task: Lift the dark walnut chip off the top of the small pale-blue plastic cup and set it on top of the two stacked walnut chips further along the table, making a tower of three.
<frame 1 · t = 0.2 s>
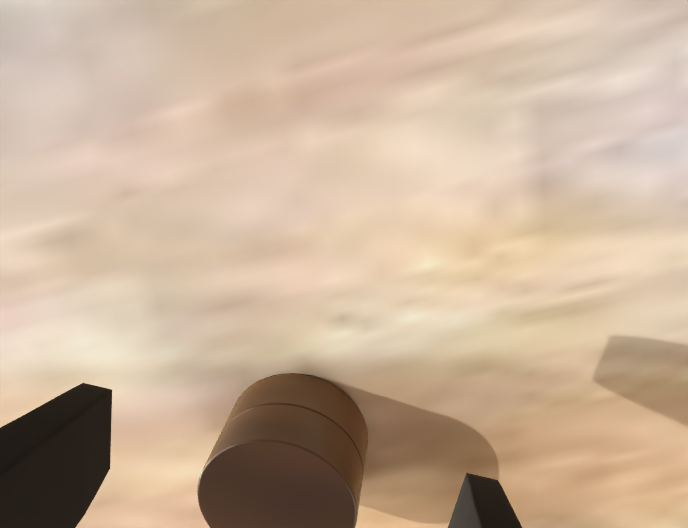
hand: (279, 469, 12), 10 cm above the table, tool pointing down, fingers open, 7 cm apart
base chip: (299, 431, 24), on the table, touching middle chip
middle chip: (288, 466, 22), point 2 cm above the table, touching base chip
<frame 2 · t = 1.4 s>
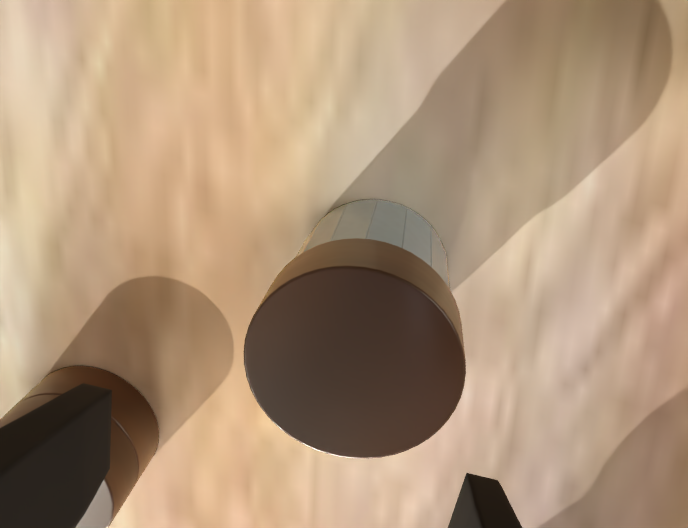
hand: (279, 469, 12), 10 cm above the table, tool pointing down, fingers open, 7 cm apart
cup: (373, 269, 21), on the table, touching top chip
base chip: (96, 422, 25), on the table, touching middle chip
top chip: (360, 331, 17), point 4 cm above the table, touching cup
middle chip: (70, 453, 23), point 2 cm above the table, touching base chip
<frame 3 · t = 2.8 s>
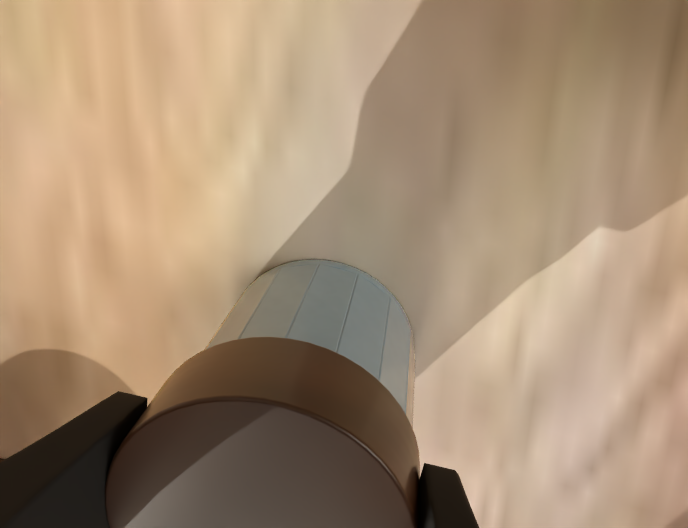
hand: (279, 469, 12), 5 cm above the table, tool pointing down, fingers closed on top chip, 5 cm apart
cup: (320, 344, 16), on the table, touching top chip
top chip: (282, 455, 12), point 4 cm above the table, touching cup, gripper
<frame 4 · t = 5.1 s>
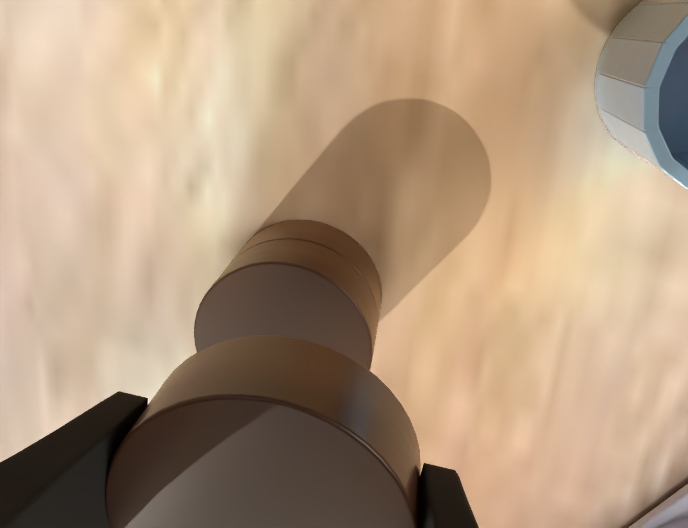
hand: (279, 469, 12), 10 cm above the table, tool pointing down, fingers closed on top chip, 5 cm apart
cup: (685, 74, 18), on the table
base chip: (306, 291, 22), on the table, touching middle chip
top chip: (282, 453, 12), point 10 cm above the table, touching gripper
middle chip: (294, 316, 20), point 2 cm above the table, touching base chip
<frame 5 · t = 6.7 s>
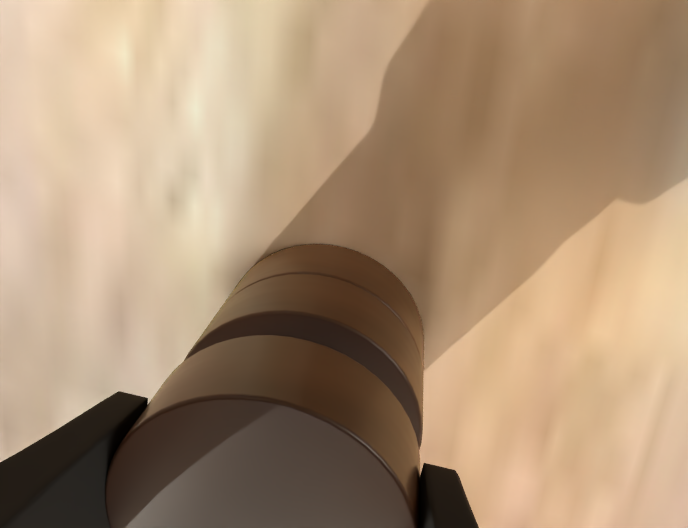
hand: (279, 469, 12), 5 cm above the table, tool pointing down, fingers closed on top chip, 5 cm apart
base chip: (323, 335, 17), on the table, touching middle chip
top chip: (282, 453, 12), point 5 cm above the table, touching gripper
middle chip: (310, 375, 15), point 2 cm above the table, touching base chip
when the fingers open (4 cm above the table, at t = 7.6 s): top chip stays where it is, resting on middle chip.
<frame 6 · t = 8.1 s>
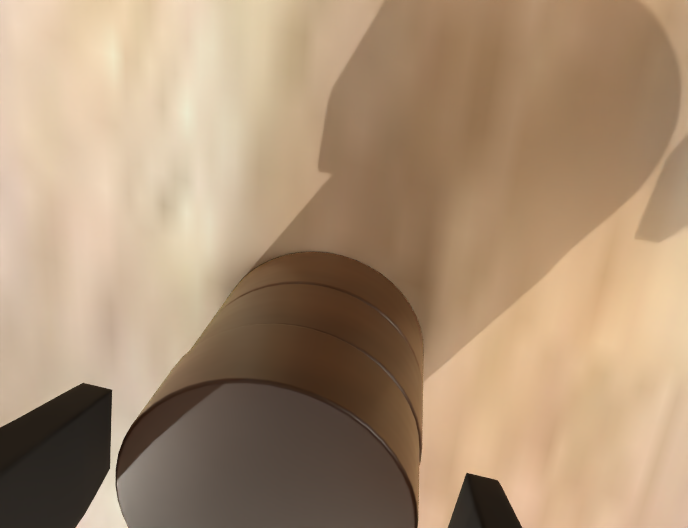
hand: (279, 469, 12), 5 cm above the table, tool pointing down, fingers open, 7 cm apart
base chip: (320, 346, 16), on the table, touching middle chip
top chip: (286, 439, 13), point 4 cm above the table, touching middle chip
middle chip: (306, 387, 14), point 2 cm above the table, touching base chip, top chip
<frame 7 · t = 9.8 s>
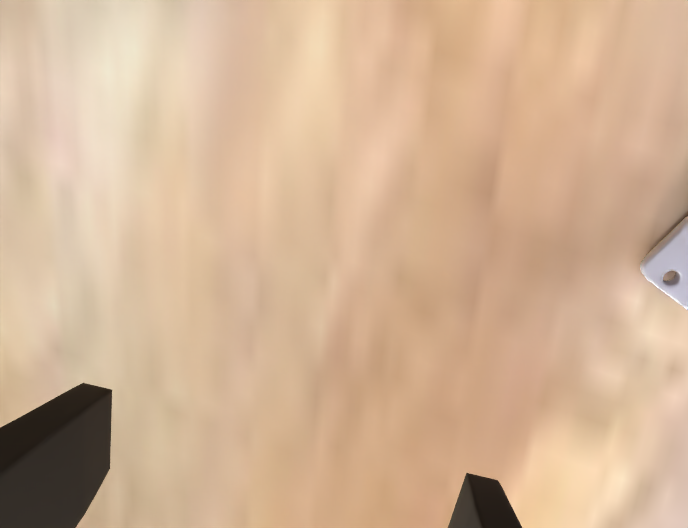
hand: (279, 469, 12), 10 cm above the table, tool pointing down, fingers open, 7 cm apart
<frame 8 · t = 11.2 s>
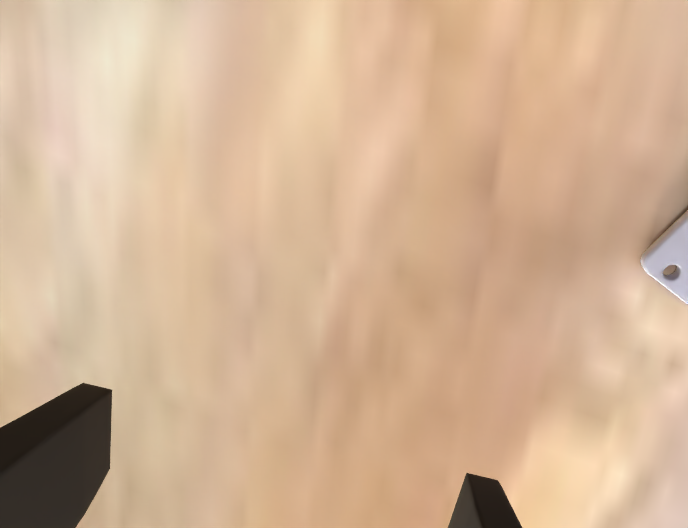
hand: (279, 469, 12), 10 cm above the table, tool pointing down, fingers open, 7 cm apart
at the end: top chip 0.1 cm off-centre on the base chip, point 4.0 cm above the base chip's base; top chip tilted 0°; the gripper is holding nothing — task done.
